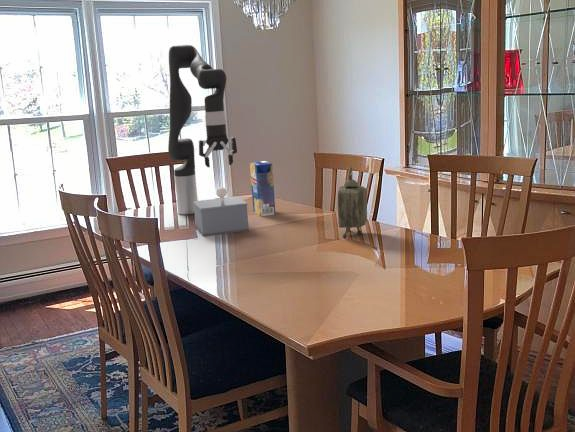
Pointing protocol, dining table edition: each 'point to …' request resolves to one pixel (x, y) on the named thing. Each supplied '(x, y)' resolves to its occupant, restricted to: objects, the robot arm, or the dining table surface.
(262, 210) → the beverage box
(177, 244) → the dining table surface
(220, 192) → the lid flap
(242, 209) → the carton
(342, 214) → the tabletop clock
